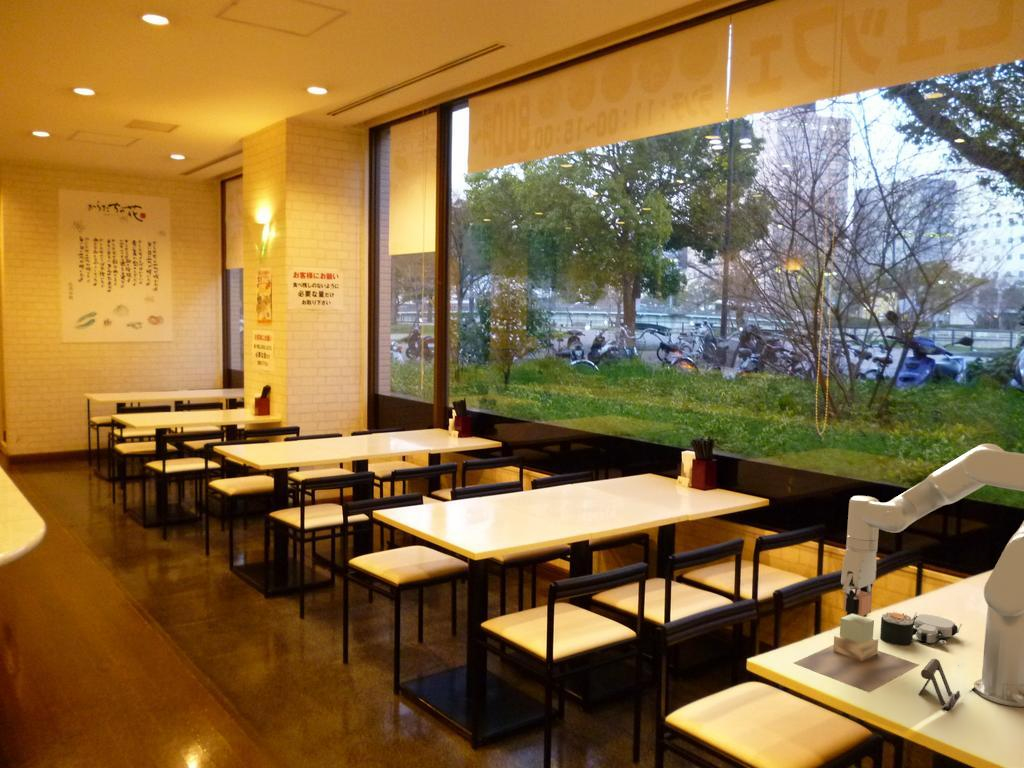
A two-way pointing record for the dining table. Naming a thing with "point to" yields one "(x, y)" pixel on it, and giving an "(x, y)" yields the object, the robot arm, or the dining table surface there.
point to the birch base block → (855, 647)
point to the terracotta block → (861, 602)
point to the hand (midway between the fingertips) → (857, 609)
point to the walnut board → (857, 668)
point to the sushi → (897, 629)
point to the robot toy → (933, 628)
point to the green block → (856, 628)
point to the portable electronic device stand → (929, 674)
